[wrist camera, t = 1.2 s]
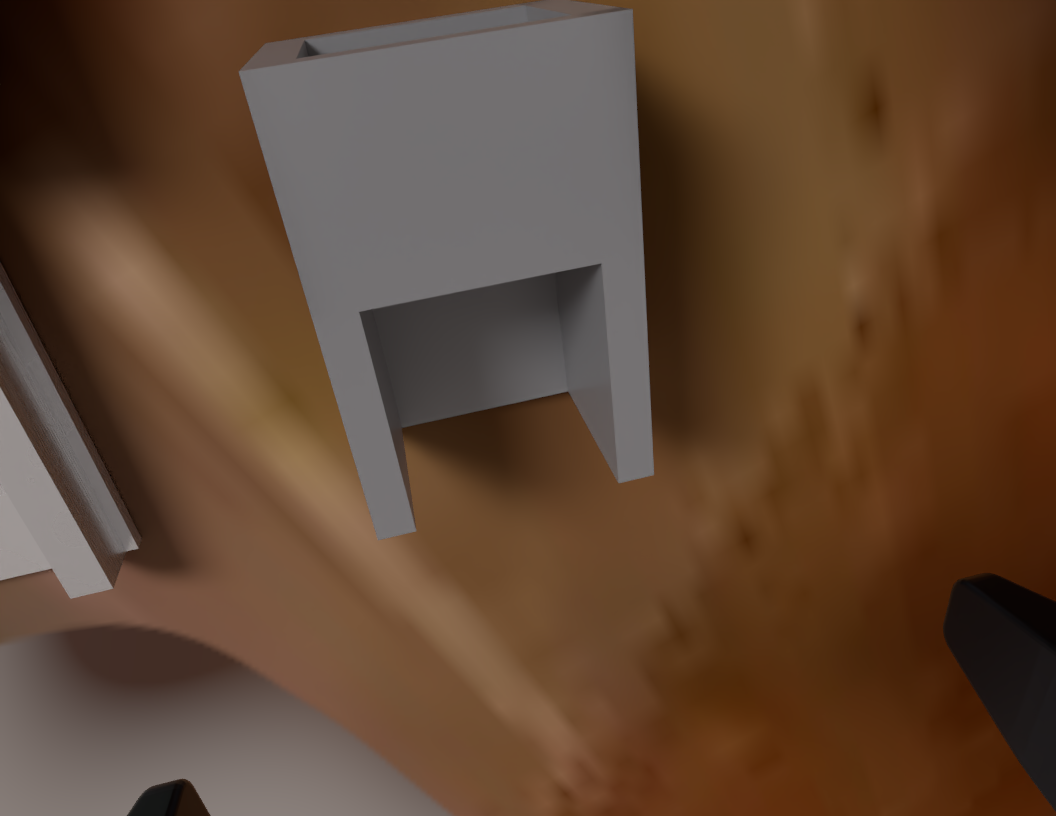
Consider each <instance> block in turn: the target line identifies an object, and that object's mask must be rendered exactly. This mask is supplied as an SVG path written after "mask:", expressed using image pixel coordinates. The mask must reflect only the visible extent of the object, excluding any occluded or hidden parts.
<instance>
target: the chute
mask: <svg viewBox="0 0 1056 816" xmlns="http://www.w3.org/2000/svg"><path fill="white" fill-rule="evenodd" d="M239 75H240V78H241V81H242V85H243V88H244V91H245V95H246V98H247V101H248V105H249V108H250V112H251V115H252V118H253V122H254V125H255V128H256V132H257V135H258V138H259V142H260V145H261V149H262V152H263V155H264V159H265V162H266V165H267V169H268V172H269V175H270V179H271V182H272V185H273V189H274V192H275V196H276V199H277V202H278V206H279V209H280V212H281V216H282V219H283V222H284V226H285V229H286V233H287V236H288V239H289V243H290V246H291V249H292V253H293V256H294V259H295V263H296V266H297V269H298V273H299V276H300V280H301V283H302V286H303V290H304V293H305V296H306V300H307V303H308V306H309V310H310V313H311V317H312V320H313V323H314V327H315V330H316V333H317V337H318V340H319V343H320V347H321V350H322V354H323V357H324V360H325V364H326V367H327V370H328V374H329V377H330V380H331V384H332V387H333V390H334V394H335V397H336V401H337V404H338V407H339V411H340V414H341V417H342V421H343V424H344V427H345V431H346V434H347V438H348V441H349V444H350V448H351V451H352V454H353V458H354V461H355V464H356V468H357V471H358V474H359V478H360V481H361V485H362V488H363V491H364V495H365V498H366V501H367V505H368V508H369V511H370V515H371V518H372V522H373V525H374V528H375V532H376V535H377V538H378V540H381V539H385V538H390V537H394V536H398V535H402V534H406V533H411V532H415V531H416V526H415V518H414V511H413V504H412V497H411V490H410V483H409V476H408V469H407V462H406V455H405V448H404V441H403V434H402V428H404V427H408V426H413V425H417V424H422V423H426V422H431V421H435V420H440V419H445V418H449V417H454V416H458V415H463V414H467V413H472V412H476V411H481V410H486V409H490V408H495V407H499V406H504V405H508V404H513V403H517V402H522V401H526V400H531V399H536V398H540V397H545V396H549V395H554V394H558V393H563V392H567V391H568V392H569V394H570V395H571V397H572V399H573V401H574V403H575V405H576V406H577V408H578V410H579V412H580V414H581V416H582V417H583V419H584V421H585V423H586V425H587V427H588V428H589V430H590V432H591V434H592V436H593V437H594V439H595V441H596V443H597V445H598V447H599V448H600V450H601V452H602V454H603V456H604V458H605V459H606V461H607V463H608V465H609V467H610V469H611V470H612V472H613V474H614V476H615V478H616V479H617V481H618V483H622V482H626V481H630V480H634V479H639V478H643V477H647V476H651V475H654V465H653V443H652V421H651V400H650V378H649V356H648V335H647V313H646V291H645V270H644V248H643V226H642V205H641V183H640V161H639V139H638V118H637V96H636V74H635V53H634V31H633V9H628V8H621V7H614V6H607V5H599V4H592V3H585V2H578V1H570V0H542V1H536V2H529V3H523V4H516V5H510V6H504V7H497V8H491V9H484V10H478V11H471V12H465V13H458V14H452V15H446V16H439V17H433V18H426V19H420V20H413V21H407V22H401V23H394V24H388V25H381V26H375V27H368V28H362V29H355V30H349V31H343V32H336V33H330V34H323V35H317V36H310V37H304V38H297V39H291V40H285V41H278V42H272V43H265V44H264V45H263V46H262V47H261V49H260V50H259V51H258V52H257V53H256V54H255V55H254V56H253V57H252V58H251V59H250V60H249V61H248V62H247V63H246V64H245V65H244V67H243V68H242V69H241V70H240V71H239Z"/></svg>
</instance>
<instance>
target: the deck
mask: <svg viewBox="0 0 1056 816" xmlns="http://www.w3.org/2000/svg"><path fill="white" fill-rule="evenodd" d="M141 540H142V538H141V536H140V534H139V532H138V530H137V528H136V526H135V524H134V522H133V520H132V518H131V517H130V515H129V513H128V511H127V509H126V507H125V505H124V503H123V501H122V499H121V497H120V495H119V493H118V491H117V489H116V487H115V485H114V483H113V481H112V479H111V477H110V475H109V473H108V471H107V469H106V468H105V466H104V464H103V462H102V460H101V458H100V456H99V454H98V452H97V450H96V448H95V446H94V444H93V442H92V440H91V438H90V436H89V434H88V432H87V430H86V428H85V426H84V424H83V422H82V420H81V418H80V417H79V415H78V413H77V411H76V409H75V407H74V405H73V403H72V401H71V399H70V397H69V395H68V393H67V391H66V389H65V387H64V385H63V383H62V381H61V379H60V377H59V375H58V373H57V371H56V369H55V368H54V366H53V364H52V362H51V360H50V358H49V356H48V354H47V352H46V350H45V348H44V346H43V344H42V342H41V340H40V338H39V336H38V334H37V332H36V330H35V328H34V326H33V324H32V322H31V320H30V319H29V317H28V315H27V313H26V311H25V309H24V307H23V305H22V303H21V301H20V299H19V297H18V295H17V293H16V291H15V289H14V287H13V285H12V283H11V281H10V279H9V277H8V275H7V273H6V271H5V269H4V268H3V266H2V264H1V262H0V580H4V579H8V578H12V577H17V576H21V575H25V574H30V573H34V572H39V571H43V570H47V569H53V571H54V573H55V574H56V576H57V577H58V579H59V581H60V582H61V584H62V586H63V587H64V589H65V591H66V592H67V594H68V596H69V597H70V599H71V598H75V597H79V596H84V595H88V594H92V593H97V592H101V591H105V590H109V589H113V588H114V585H115V582H116V579H117V577H118V574H119V571H120V568H121V565H122V563H123V560H124V557H125V554H126V552H127V551H130V550H134V549H139V546H140V543H141Z"/></svg>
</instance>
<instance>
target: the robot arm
mask: <svg viewBox="0 0 1056 816" xmlns="http://www.w3.org/2000/svg"><path fill="white" fill-rule="evenodd" d="M943 633H944V637H945V640H946V643H947V645H948V647H949V649H950V650H951V652H952V654H953V655H954V657H955V659H956V660H957V662H958V663H959V665H960V667H961V668H962V670H963V672H964V673H965V675H966V677H967V678H968V680H969V681H970V683H971V685H972V686H973V688H974V690H975V691H976V693H977V695H978V696H979V698H980V699H981V701H982V703H983V704H984V706H985V708H986V709H987V711H988V713H989V714H990V716H991V717H992V719H993V721H994V722H995V724H996V726H997V727H998V729H999V731H1000V732H1001V734H1002V735H1003V737H1004V739H1005V740H1006V742H1007V744H1008V745H1009V747H1010V748H1011V750H1012V751H1013V753H1014V754H1015V756H1016V757H1017V759H1018V761H1019V762H1020V764H1021V765H1022V766H1023V768H1024V769H1025V771H1026V772H1027V773H1028V775H1029V776H1030V778H1031V779H1032V780H1033V782H1034V783H1035V784H1036V786H1037V787H1038V789H1039V790H1040V791H1041V793H1042V794H1043V795H1044V797H1045V798H1046V799H1047V801H1048V802H1049V803H1050V805H1051V806H1052V807H1053V809H1054V810H1055V811H1056V602H1055V601H1053V600H1051V599H1049V598H1046V597H1044V596H1042V595H1040V594H1038V593H1035V592H1033V591H1031V590H1029V589H1027V588H1025V587H1022V586H1020V585H1018V584H1016V583H1014V582H1011V581H1009V580H1007V579H1005V578H1003V577H1000V576H998V575H995V574H991V573H982V574H978V575H974V576H970V577H966V578H962V579H959V580H958V581H957V582H956V583H955V584H954V585H953V588H952V591H951V595H950V599H949V603H948V607H947V611H946V615H945V619H944V623H943ZM127 816H210V814H209V813H208V811H207V809H206V807H205V805H204V804H203V802H202V800H201V798H200V797H199V795H198V793H197V792H196V790H195V788H194V786H193V785H192V784H191V782H190V781H188V780H186V779H179V780H175V781H171V782H167V783H163V784H159V785H155V786H152V787H150V788H148V789H147V790H146V791H145V792H144V793H142V795H141V796H140V797H139V798H138V800H137V801H136V803H135V804H134V806H133V808H132V809H131V810H130V812H129V814H128V815H127Z"/></svg>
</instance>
